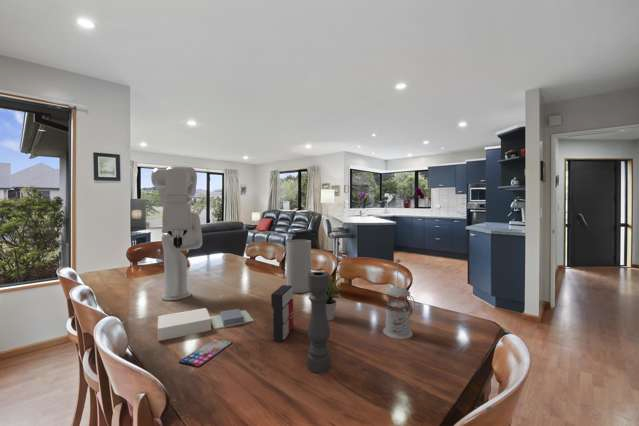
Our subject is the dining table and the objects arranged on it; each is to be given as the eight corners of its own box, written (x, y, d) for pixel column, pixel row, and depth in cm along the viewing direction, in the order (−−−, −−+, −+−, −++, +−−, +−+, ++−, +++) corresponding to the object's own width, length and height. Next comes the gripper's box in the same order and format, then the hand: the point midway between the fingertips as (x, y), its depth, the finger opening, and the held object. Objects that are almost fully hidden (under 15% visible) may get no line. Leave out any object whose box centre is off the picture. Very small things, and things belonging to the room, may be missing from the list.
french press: (376, 328, 99) (376, 257, 98) (403, 323, 103) (403, 254, 103) (395, 341, 90) (395, 262, 89) (423, 334, 94) (423, 259, 94)
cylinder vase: (310, 293, 138) (310, 242, 137) (285, 294, 138) (284, 242, 137) (311, 286, 150) (311, 239, 150) (288, 286, 151) (287, 239, 150)
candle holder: (307, 361, 79) (306, 271, 78) (329, 360, 79) (328, 270, 78) (308, 374, 72) (307, 277, 72) (332, 373, 73) (331, 276, 72)
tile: (238, 308, 112) (238, 313, 112) (220, 311, 109) (220, 316, 109) (243, 316, 104) (243, 322, 104) (223, 320, 101) (223, 325, 101)
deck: (158, 327, 101) (158, 316, 101) (206, 318, 109) (206, 307, 109) (157, 341, 91) (157, 328, 91) (210, 330, 98) (210, 318, 98)
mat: (209, 317, 109) (209, 316, 109) (245, 310, 116) (245, 310, 116) (213, 329, 99) (213, 328, 99) (253, 321, 106) (253, 320, 106)
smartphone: (234, 341, 90) (199, 367, 76) (234, 343, 90) (199, 369, 76) (214, 337, 92) (177, 361, 78) (214, 339, 92) (177, 364, 78)
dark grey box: (284, 342, 90) (284, 295, 89) (271, 340, 91) (271, 294, 90) (294, 327, 100) (294, 285, 100) (282, 326, 101) (282, 284, 101)
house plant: (354, 313, 112) (354, 272, 112) (342, 327, 100) (341, 281, 99) (321, 308, 118) (321, 269, 118) (306, 321, 106) (305, 277, 105)
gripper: (196, 200, 116) (197, 245, 117) (154, 200, 109) (155, 247, 110) (198, 200, 110) (199, 247, 110) (154, 199, 103) (155, 250, 103)
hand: (177, 247), depth 110 cm, fingers closed
